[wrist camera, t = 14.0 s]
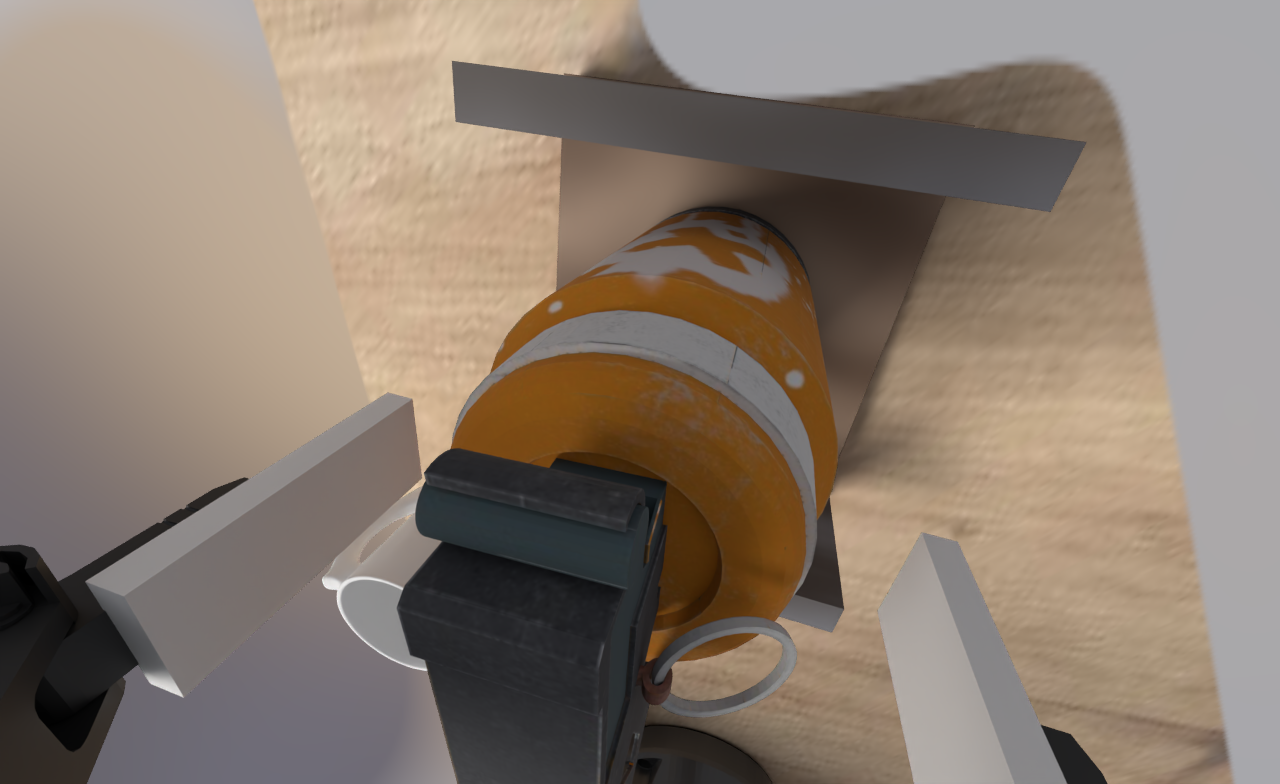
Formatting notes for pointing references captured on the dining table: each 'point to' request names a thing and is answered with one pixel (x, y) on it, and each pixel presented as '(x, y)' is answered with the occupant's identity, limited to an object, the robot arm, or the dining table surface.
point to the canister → (624, 501)
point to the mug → (381, 581)
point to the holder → (770, 203)
